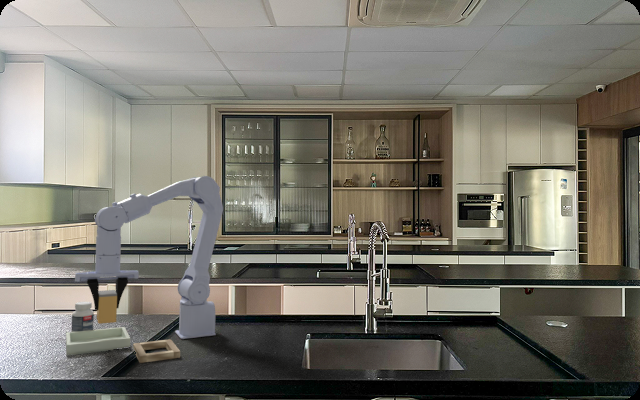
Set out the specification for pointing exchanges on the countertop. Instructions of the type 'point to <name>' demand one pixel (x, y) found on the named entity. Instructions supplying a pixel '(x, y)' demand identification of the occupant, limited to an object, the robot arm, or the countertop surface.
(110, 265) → the robot arm
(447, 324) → the countertop surface
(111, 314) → the tan boxy piece
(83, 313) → the pill bottle
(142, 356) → the socket block
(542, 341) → the countertop surface
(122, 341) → the tray
